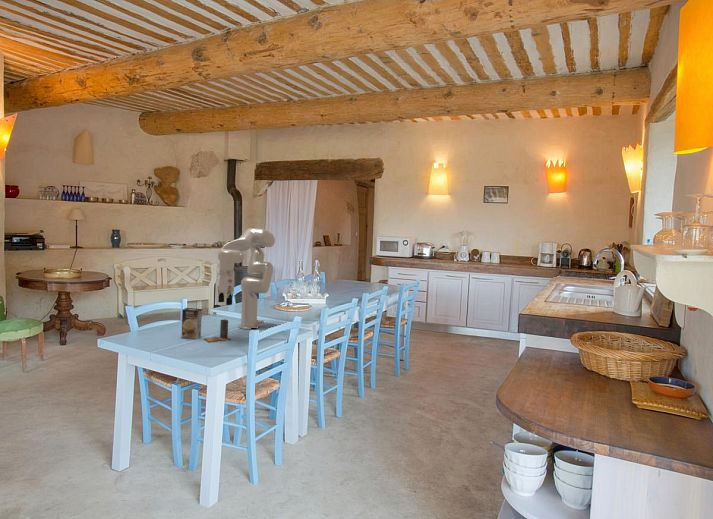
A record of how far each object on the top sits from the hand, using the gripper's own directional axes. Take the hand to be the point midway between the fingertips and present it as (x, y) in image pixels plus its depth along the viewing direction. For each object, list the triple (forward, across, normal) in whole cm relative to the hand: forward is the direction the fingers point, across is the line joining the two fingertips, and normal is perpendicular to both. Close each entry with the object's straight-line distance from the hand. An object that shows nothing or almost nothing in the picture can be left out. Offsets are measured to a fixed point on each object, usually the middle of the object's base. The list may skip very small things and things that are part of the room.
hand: (225, 303), depth 276 cm
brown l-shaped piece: (+20, 0, +4) cm, 21 cm away
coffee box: (+20, +12, +14) cm, 28 cm away
